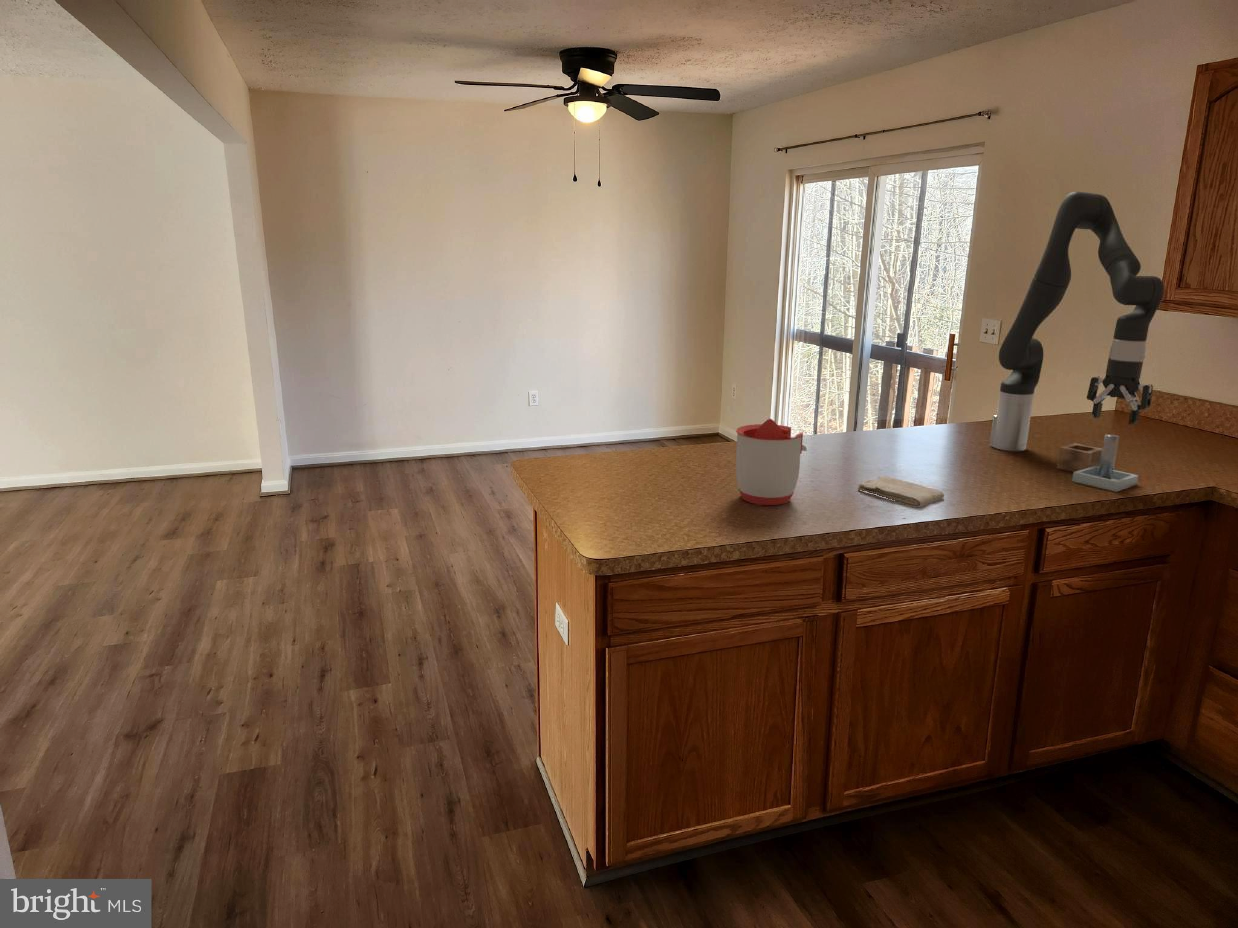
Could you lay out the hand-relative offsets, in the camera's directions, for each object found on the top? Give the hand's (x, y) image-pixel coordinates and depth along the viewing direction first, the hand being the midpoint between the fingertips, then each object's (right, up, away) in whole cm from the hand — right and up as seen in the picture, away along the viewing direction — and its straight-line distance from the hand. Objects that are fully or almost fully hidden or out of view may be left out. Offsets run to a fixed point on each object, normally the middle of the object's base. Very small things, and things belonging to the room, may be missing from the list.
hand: (1114, 421), depth 207 cm
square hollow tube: (+1, -12, +17) cm, 21 cm away
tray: (0, -16, +4) cm, 17 cm away
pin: (0, -15, +4) cm, 16 cm away
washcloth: (-57, -19, -6) cm, 60 cm away
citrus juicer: (-90, -20, -10) cm, 93 cm away
